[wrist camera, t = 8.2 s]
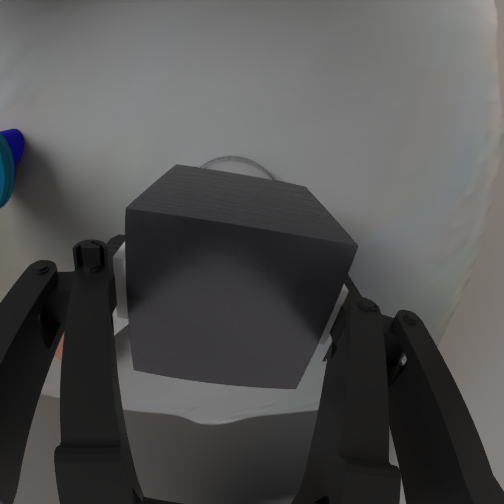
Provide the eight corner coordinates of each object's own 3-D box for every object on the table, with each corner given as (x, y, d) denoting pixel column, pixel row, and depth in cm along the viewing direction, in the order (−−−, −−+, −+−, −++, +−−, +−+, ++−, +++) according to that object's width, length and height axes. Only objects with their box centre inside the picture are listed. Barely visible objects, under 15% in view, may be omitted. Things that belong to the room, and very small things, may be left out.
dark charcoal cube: (176, 164, 14) (125, 208, 8) (305, 186, 15) (358, 245, 8) (165, 277, 17) (133, 369, 11) (276, 293, 18) (295, 388, 12)
